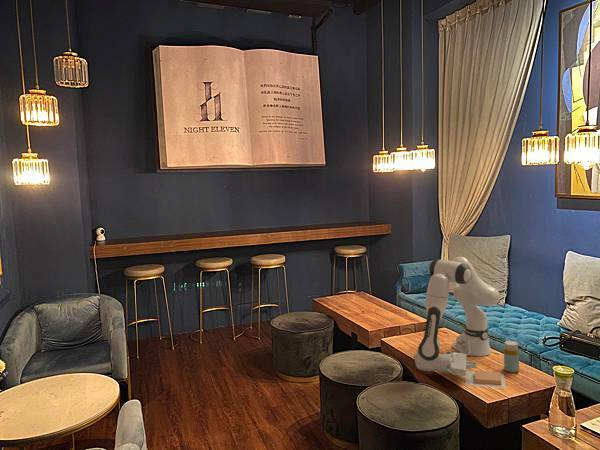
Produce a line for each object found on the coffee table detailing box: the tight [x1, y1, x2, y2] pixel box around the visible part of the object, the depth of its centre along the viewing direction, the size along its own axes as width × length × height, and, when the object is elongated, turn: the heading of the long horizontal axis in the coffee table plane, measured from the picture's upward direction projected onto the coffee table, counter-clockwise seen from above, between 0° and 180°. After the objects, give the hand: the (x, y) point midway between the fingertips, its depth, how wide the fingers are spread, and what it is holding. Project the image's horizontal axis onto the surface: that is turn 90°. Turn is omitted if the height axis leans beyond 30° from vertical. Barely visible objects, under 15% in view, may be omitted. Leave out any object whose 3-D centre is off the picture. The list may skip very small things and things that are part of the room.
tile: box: [474, 369, 501, 385], centre depth 239 cm, size 2×10×12 cm
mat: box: [465, 370, 507, 389], centre depth 239 cm, size 18×16×1 cm
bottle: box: [503, 340, 520, 374], centre depth 246 cm, size 7×7×15 cm
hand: (476, 365), depth 240 cm, fingers closed
